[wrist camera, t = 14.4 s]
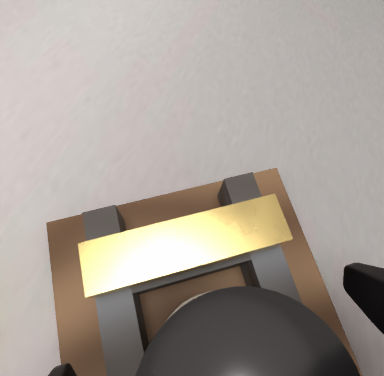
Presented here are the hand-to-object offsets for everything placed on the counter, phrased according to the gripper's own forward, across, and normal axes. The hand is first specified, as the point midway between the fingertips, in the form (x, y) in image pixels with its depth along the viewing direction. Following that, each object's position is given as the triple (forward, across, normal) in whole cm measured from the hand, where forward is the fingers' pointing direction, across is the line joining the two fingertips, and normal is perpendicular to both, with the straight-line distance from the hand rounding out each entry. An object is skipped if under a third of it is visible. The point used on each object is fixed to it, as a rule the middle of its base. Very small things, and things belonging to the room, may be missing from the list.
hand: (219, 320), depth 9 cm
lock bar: (+6, 0, -2) cm, 7 cm away
